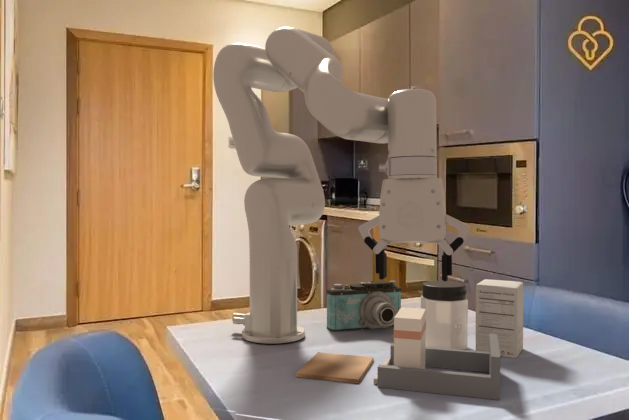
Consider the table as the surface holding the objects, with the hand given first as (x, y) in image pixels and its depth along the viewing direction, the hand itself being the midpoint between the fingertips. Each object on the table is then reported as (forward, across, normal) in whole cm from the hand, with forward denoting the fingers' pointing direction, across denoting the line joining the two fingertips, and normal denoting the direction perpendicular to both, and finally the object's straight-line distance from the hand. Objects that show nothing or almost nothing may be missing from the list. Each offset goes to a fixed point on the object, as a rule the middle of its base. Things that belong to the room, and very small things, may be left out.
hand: (413, 279), depth 85 cm
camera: (+15, -13, +27) cm, 33 cm away
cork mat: (+15, -13, 0) cm, 20 cm away
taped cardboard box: (+15, -1, 0) cm, 15 cm away
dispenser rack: (+15, +3, 0) cm, 16 cm away
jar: (+15, +3, +19) cm, 25 cm away
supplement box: (+16, +13, +19) cm, 28 cm away
